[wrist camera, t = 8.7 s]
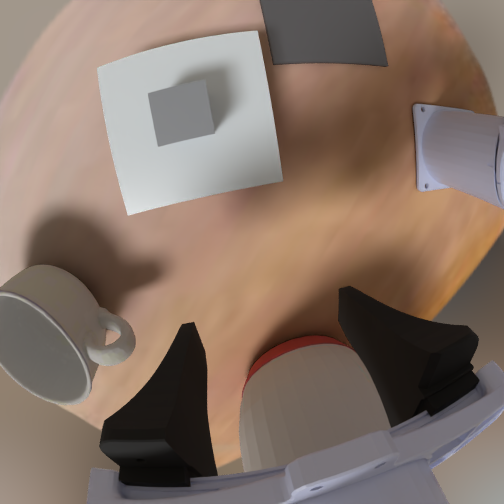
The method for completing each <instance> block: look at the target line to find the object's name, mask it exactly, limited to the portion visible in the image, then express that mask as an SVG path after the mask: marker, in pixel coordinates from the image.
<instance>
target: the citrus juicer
mask: <svg viewBox="0 0 504 504" xmlns="http://www.w3.org/2000/svg"><path fill="white" fill-rule="evenodd" d="M390 428H391V426H390V423H389V420H388V417H387V414H386V412H385V409H384V406H383V404H382V401H381V399H380V396H379V394H378V391H377V389H376V387H375V385H374V383H373V380H372V378H371V376H370V374H369V372H368V370H367V369H366V367H365V365H364V364H363V362H362V361H361V359H360V357H359V356H358V354H357V353H356V351H355V350H354V349H352V348H350V347H349V346H347V345H345V344H343V343H341V342H340V341H338V340H336V339H334V338H331V337H327V336H316V335H315V336H304V337H300V338H296V339H292V340H289V341H287V342H284V343H281V344H280V345H278V346H276V347H274V348H272V349H270V350H269V351H268V352H266V353H265V354H263V355H262V356H261V357H260V358H259V359H258V360H257V361H256V362H255V363H254V365H253V366H252V368H251V369H250V372H249V374H248V377H247V379H246V382H245V385H244V388H243V391H242V402H241V406H240V421H239V439H240V449H241V456H242V462H243V468H244V472H250V471H256V470H261V469H267V468H272V467H276V466H281V465H285V464H289V463H290V462H292V461H294V460H295V459H297V458H299V457H302V456H305V455H307V454H310V453H313V452H317V451H320V450H323V449H327V448H330V447H333V446H336V445H339V444H342V443H344V442H347V441H350V440H353V439H355V438H358V437H361V436H363V435H366V434H368V433H371V432H374V431H378V430H388V429H390Z"/></svg>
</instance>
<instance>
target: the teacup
mask: <svg viewBox="0 0 504 504" xmlns="http://www.w3.org/2000/svg"><path fill="white" fill-rule="evenodd" d="M106 329H109V330H112V331H115V332H117V333H119V334H120V335H121V336H120V338H119V339H118V340H116V341H115V342H114V343H112V344H109V345H107V346H105V342H106ZM135 345H136V339H135V335H134V332H133V330H132V328H131V326H130V325H129V323H128V322H127V321H126V320H124V319H123V318H121V317H119V316H117V315H115V314H112V313H109V311H108V310H107V309H106V308H102V307H99V305H98V303H97V301H96V299H95V298H94V296H93V295H92V293H91V292H90V291H89V290H88V288H87V287H86V286H85V285H84V284H83V283H82V282H81V281H80V280H79V279H78V278H76V277H75V276H74V275H72V274H71V273H69V272H67V271H65V270H63V269H61V268H58V267H55V266H52V265H35V266H31V267H29V268H26V269H24V270H23V271H21V272H19V273H18V274H17V275H15V276H14V277H12V278H11V279H10V280H9V281H7V282H6V283H5V284H4V285H3V286H1V287H0V366H1V367H2V368H3V369H4V370H5V371H6V373H7V374H8V375H9V376H10V377H11V378H12V379H14V380H15V381H16V382H17V383H18V384H19V385H20V386H22V387H23V388H25V389H26V390H28V391H29V392H30V393H32V394H34V395H36V396H37V397H39V398H41V399H44V400H46V401H48V402H52V403H55V404H60V405H74V404H79V403H81V402H83V401H84V400H85V399H86V398H87V397H88V396H89V394H90V391H91V389H92V381H93V378H94V376H95V373H96V371H97V368H98V365H99V364H100V365H105V366H113V365H116V364H119V363H121V362H123V361H125V360H126V359H127V358H128V357H129V356H130V355H131V354H132V352H133V351H134V348H135Z"/></svg>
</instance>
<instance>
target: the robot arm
mask: <svg viewBox="0 0 504 504" xmlns="http://www.w3.org/2000/svg"><path fill="white" fill-rule="evenodd" d="M421 108H422V111H421ZM413 117H414V127H415V141H416V163H417V189H418V190H419V191H421V192H424V191H430V190H437V189H444V188H454V189H457V190H459V191H462V192H464V193H467V194H469V195H472V196H474V197H477V198H479V199H481V200H484V201H486V202H488V203H491V204H493V205H495V206H497V207H500V208H502V209H504V117H501V116H495V115H487V114H479V113H474V112H473V111H470V110H464V109H458V108H451V107H444V106H435V105H426V104H414V105H413ZM425 184H426V186H425ZM338 321H339V323H340V325H341V327H342V329H343V331H344V333H345V336H346V337H347V339H348V340H349V342H350V344H351V345H352V347H353V348H354V350H355V351H356V353H357V354H358V356H359V357H360V359H361V361H362V362H363V364H364V365H365V367H366V369H367V370H368V372H369V374H370V376H371V378H372V380H373V383H374V385H375V387H376V389H377V391H378V394H379V396H380V399H381V401H382V404H383V406H384V409H385V412H386V414H387V417H388V420H389V423H390V426H391V428H390V429H388V430H378V431H374V432H371V433H368V434H366V435H363V436H361V437H358V438H355V439H353V440H350V441H347V442H344V443H342V444H339V445H336V446H333V447H330V448H327V449H323V450H320V451H317V452H313V453H310V454H307V455H305V456H302V457H299V458H297V459H295V460H294V461H292V462H290V463H289V464H285V465H281V466H276V467H272V468H267V469H261V470H256V471H250V472H244V473H237V474H230V475H221V476H218V474H217V469H216V464H215V460H214V454H213V449H212V443H211V437H210V430H209V422H208V414H207V362H206V353H205V350H204V347H203V344H202V342H201V339H200V336H199V334H198V331H197V328H196V326H195V323H194V322H191V323H186V324H182V325H181V327H180V329H179V331H178V333H177V335H176V337H175V339H174V341H173V343H172V345H171V346H170V348H169V350H168V352H167V354H166V356H165V357H164V359H163V361H162V362H161V364H160V365H159V367H158V368H157V370H156V371H155V373H154V374H153V376H152V377H151V378H150V380H149V381H148V382H147V383H146V384H145V386H144V387H143V388H142V389H141V390H140V391H139V392H138V393H137V394H136V395H135V396H134V397H133V398H132V399H131V400H130V401H129V402H128V403H127V404H126V405H124V406H123V407H122V408H121V409H120V410H118V411H117V412H116V413H114V414H113V415H112V416H110V417H109V418H107V419H106V420H105V421H104V424H103V428H102V434H101V439H100V445H99V447H100V449H101V451H102V452H103V453H104V454H105V455H106V456H108V457H109V458H110V459H111V460H113V461H114V462H115V463H117V464H118V465H119V466H120V471H119V472H118V471H115V470H109V469H100V468H92V469H91V473H90V481H89V489H88V496H87V504H449V503H448V501H447V499H446V497H445V495H444V493H443V491H442V489H441V487H440V485H439V483H438V481H437V479H436V478H435V476H434V474H433V472H432V470H431V469H433V468H434V467H435V466H437V465H438V464H440V463H442V462H443V461H444V460H446V459H447V458H449V457H450V456H452V455H453V454H454V453H455V452H457V451H458V450H460V449H461V448H462V447H464V446H465V445H466V444H467V443H469V442H470V441H471V440H472V439H474V438H475V437H476V436H477V435H479V434H480V433H481V432H482V431H483V430H484V429H486V428H487V427H488V426H489V425H490V424H492V423H493V422H494V421H495V420H496V419H497V418H498V417H499V416H500V414H501V413H502V412H503V411H504V372H503V371H502V370H501V369H500V367H499V366H498V365H497V364H496V363H495V362H494V361H493V360H492V361H490V362H489V363H487V364H486V365H485V366H483V367H482V368H481V369H480V370H478V372H477V373H476V374H474V373H473V371H472V370H473V368H474V367H473V365H472V364H471V363H470V361H471V359H472V357H473V355H474V353H475V351H476V349H477V346H478V341H479V338H478V336H477V335H476V334H475V333H474V332H473V331H472V330H471V329H470V328H469V327H468V326H464V325H450V324H443V323H437V322H432V321H428V320H424V319H420V318H417V317H414V316H411V315H408V314H405V313H403V312H400V311H398V310H396V309H393V308H391V307H389V306H387V305H385V304H383V303H381V302H379V301H377V300H375V299H373V298H371V297H370V296H368V295H366V294H364V293H362V292H361V291H359V290H357V289H355V288H353V287H351V286H347V287H343V288H340V289H339V314H338Z"/></svg>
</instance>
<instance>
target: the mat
mask: <svg viewBox="0 0 504 504" xmlns="http://www.w3.org/2000/svg"><path fill="white" fill-rule="evenodd" d="M260 4H261V9H262V13H263V18H264V22H265V27H266V31H267V36H268V41H269V46H270V51H271V56H272V61H273V65H280V64H300V63H342V64H361V65H374V66H384V67H386V66H388V63H387V58H386V53H385V48H384V44H383V39H382V35H381V31H380V27H379V24H378V20H377V16H376V13H375V9H374V6H373V3H372V0H260Z"/></svg>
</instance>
